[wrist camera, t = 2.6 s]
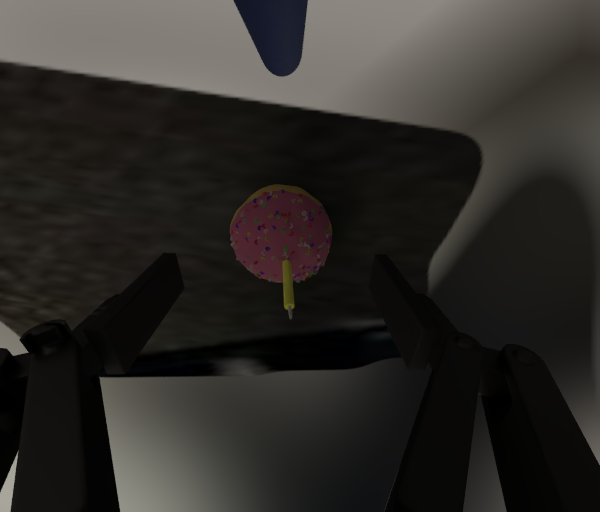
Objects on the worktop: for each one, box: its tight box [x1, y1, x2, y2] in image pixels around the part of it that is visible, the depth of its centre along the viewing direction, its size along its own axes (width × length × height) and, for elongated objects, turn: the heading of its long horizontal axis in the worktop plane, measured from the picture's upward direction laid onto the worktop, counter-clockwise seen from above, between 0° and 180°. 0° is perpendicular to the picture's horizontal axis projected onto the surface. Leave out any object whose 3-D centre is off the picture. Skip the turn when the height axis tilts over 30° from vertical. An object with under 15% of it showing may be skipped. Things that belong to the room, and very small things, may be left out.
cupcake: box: [230, 184, 332, 319], centre depth 18 cm, size 9×8×12 cm
